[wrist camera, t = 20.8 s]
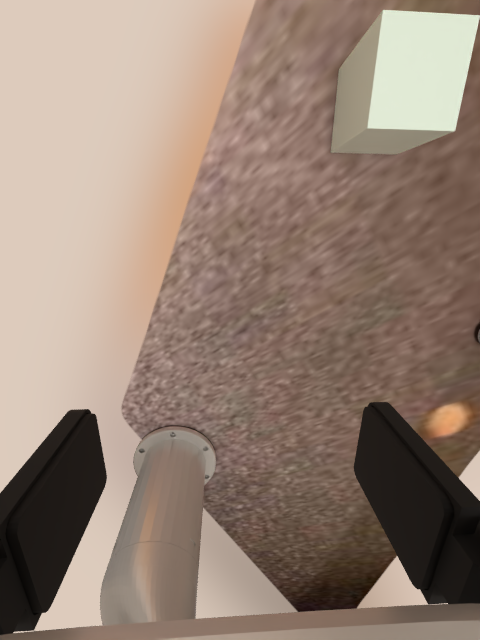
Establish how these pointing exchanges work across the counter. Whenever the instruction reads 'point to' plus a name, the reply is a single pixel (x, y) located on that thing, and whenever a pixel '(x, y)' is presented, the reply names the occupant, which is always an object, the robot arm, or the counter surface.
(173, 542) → the robot arm
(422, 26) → the pale sage cube
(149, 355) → the counter surface
